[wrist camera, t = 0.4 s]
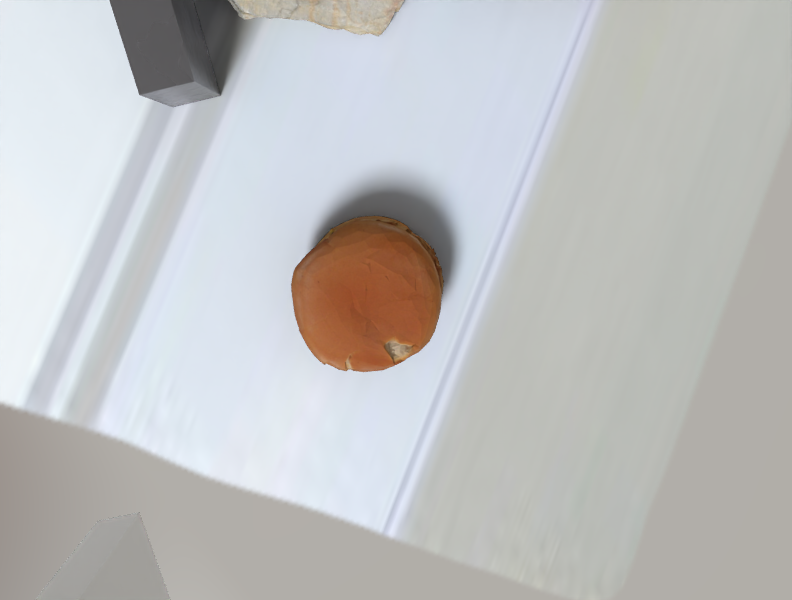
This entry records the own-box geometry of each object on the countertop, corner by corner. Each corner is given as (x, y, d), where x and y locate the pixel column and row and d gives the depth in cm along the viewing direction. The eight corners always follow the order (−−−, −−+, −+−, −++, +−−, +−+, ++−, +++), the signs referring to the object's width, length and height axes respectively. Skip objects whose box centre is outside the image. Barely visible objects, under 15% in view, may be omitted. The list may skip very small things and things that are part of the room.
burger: (357, 187, 36) (355, 188, 31) (467, 275, 37) (480, 289, 33) (267, 305, 37) (252, 323, 33) (377, 385, 39) (377, 413, 34)
